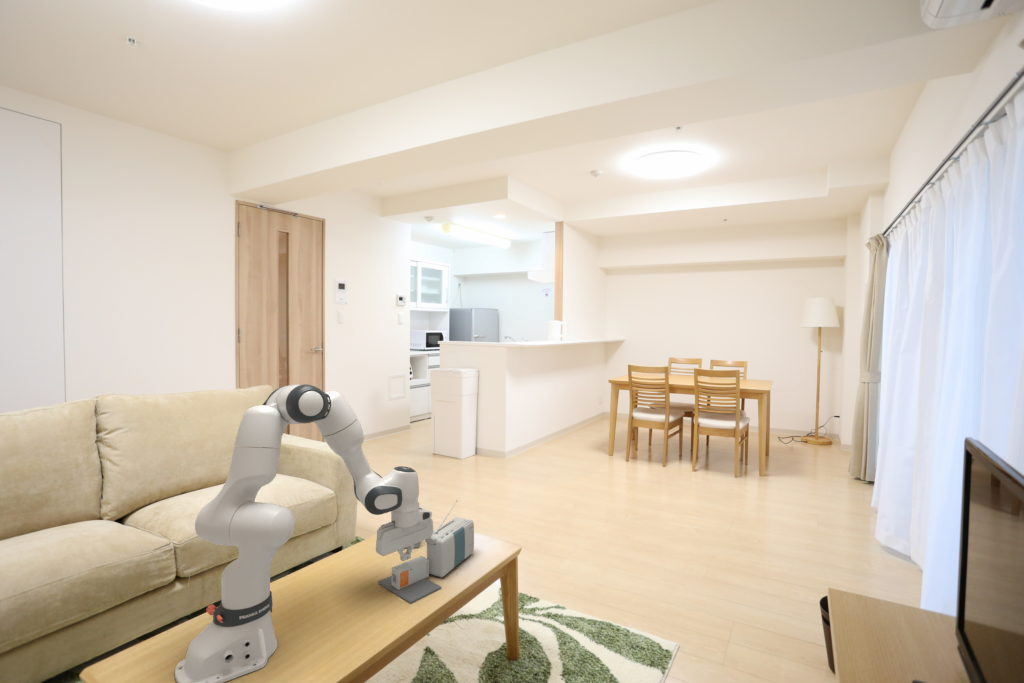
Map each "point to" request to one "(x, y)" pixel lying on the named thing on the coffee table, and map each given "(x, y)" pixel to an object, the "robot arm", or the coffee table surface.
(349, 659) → the coffee table surface
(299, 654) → the coffee table surface
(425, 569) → the skincare box
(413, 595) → the mat
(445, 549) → the stereo radio cassette player
